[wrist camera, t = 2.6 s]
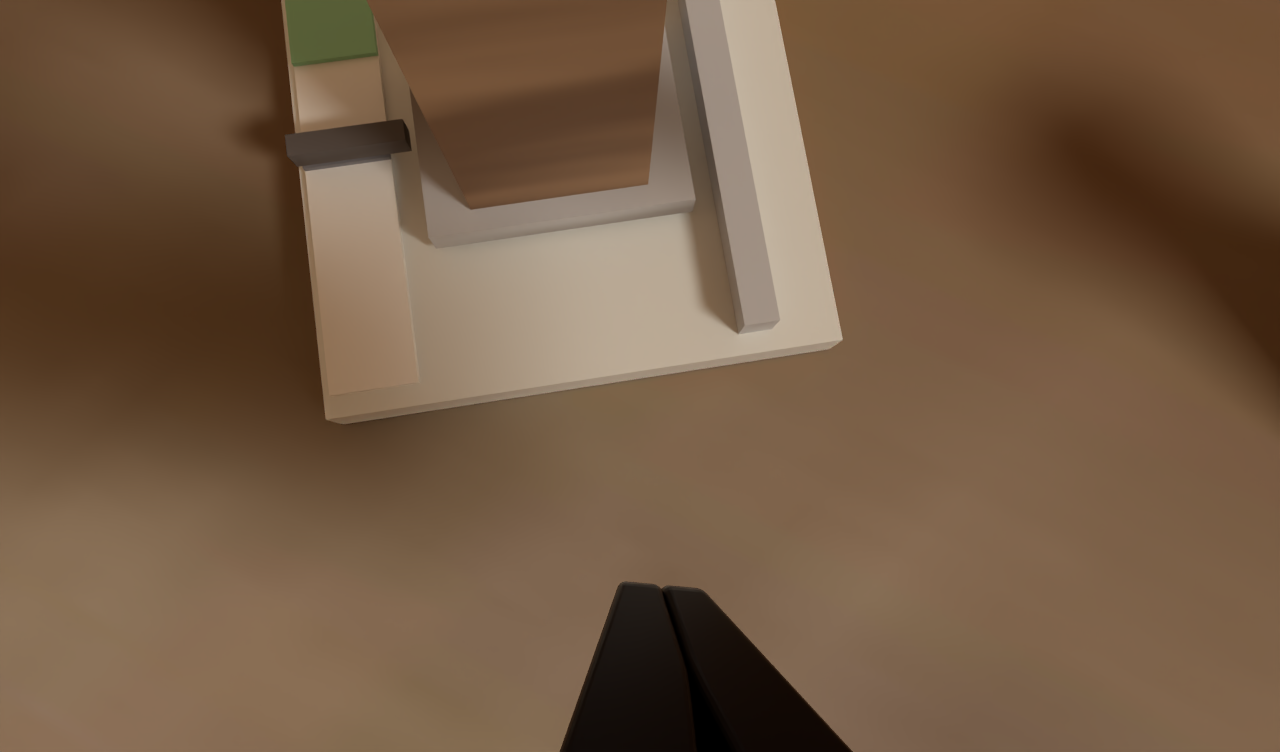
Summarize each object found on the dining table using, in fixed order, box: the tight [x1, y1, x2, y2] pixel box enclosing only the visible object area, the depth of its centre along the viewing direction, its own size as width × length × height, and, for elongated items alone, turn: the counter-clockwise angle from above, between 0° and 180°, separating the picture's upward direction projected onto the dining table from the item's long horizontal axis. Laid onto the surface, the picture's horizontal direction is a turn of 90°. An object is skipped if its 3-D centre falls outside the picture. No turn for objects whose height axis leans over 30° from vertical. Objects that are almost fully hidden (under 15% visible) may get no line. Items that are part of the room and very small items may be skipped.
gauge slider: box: [285, 0, 696, 249], centre depth 14 cm, size 5×9×11 cm, turn 99°
